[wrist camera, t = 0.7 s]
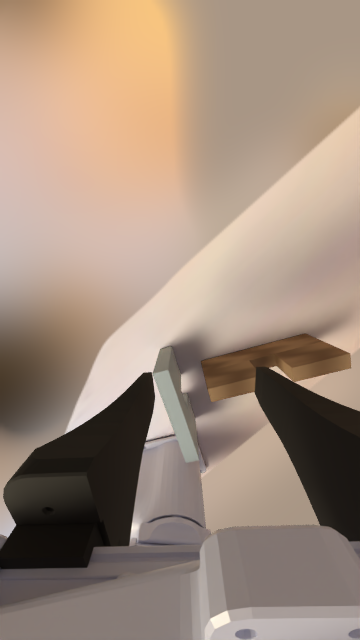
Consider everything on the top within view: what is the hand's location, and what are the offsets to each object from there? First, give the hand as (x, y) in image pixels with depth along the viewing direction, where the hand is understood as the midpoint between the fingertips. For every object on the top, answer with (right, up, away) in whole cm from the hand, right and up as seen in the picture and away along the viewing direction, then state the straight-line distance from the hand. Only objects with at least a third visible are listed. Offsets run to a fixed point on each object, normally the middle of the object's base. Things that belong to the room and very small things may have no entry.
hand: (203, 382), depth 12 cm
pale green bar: (-2, -5, +12) cm, 13 cm away
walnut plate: (+8, 0, +11) cm, 14 cm away
